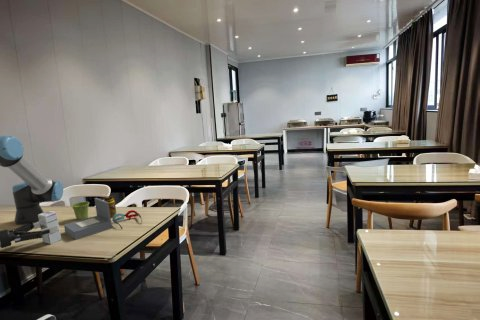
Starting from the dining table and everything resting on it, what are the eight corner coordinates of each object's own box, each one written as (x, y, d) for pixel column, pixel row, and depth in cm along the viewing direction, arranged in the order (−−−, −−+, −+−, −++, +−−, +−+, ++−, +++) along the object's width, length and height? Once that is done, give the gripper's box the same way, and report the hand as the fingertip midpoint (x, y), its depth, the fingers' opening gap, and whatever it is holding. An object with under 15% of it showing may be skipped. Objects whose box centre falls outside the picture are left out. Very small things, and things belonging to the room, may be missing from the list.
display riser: (65, 232, 161) (60, 206, 159) (100, 221, 174) (96, 197, 171) (75, 239, 150) (70, 212, 148) (112, 228, 162) (108, 202, 160)
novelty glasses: (137, 216, 179) (136, 208, 178) (145, 223, 166) (144, 215, 166) (112, 223, 171) (111, 214, 170) (118, 230, 159) (117, 221, 158)
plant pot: (94, 216, 184) (92, 202, 183) (80, 221, 176) (78, 207, 174) (84, 214, 188) (82, 201, 187) (70, 220, 180) (67, 205, 179)
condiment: (118, 216, 181) (115, 196, 179) (103, 220, 176) (100, 200, 174) (115, 213, 187) (113, 194, 185) (100, 217, 182) (97, 197, 180)
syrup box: (61, 239, 151) (56, 211, 149) (50, 244, 146) (44, 215, 144) (54, 238, 154) (49, 210, 151) (42, 243, 149) (37, 214, 146)
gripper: (-5, 241, 144) (47, 226, 159) (5, 256, 127) (62, 238, 141) (-8, 225, 143) (44, 212, 158) (1, 239, 125) (59, 223, 140)
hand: (53, 225), depth 150 cm, fingers open, 13 cm apart
